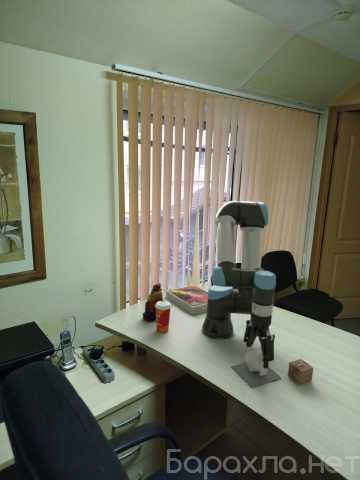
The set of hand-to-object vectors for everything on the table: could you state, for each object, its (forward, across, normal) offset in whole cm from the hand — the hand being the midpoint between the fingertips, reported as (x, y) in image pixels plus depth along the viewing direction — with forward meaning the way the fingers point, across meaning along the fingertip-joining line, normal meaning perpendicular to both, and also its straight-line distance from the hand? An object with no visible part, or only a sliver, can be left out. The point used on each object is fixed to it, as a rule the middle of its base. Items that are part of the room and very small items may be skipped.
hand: (255, 367), depth 115 cm
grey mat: (+2, 0, 0) cm, 2 cm away
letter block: (+2, +9, +14) cm, 16 cm away
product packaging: (+3, -69, +8) cm, 70 cm away
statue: (+2, -57, -23) cm, 61 cm away
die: (+1, 0, 0) cm, 1 cm away
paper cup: (+2, -43, -22) cm, 48 cm away
